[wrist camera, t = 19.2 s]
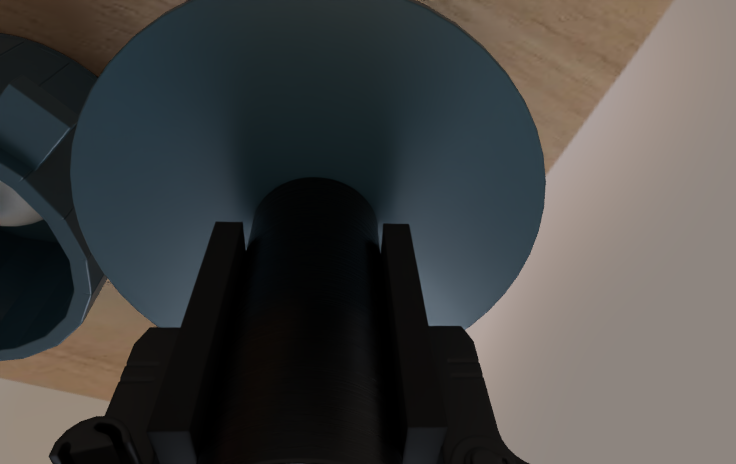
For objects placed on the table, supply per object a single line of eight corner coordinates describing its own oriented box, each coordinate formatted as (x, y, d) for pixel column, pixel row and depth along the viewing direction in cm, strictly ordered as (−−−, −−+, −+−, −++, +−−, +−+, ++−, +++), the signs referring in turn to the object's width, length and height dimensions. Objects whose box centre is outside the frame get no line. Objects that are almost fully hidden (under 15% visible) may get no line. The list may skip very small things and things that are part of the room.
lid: (-5, 206, 17) (-327, 538, 9) (312, -185, 11) (247, -281, 3) (319, 398, 24) (309, 683, 16) (613, 214, 18) (836, 506, 10)
